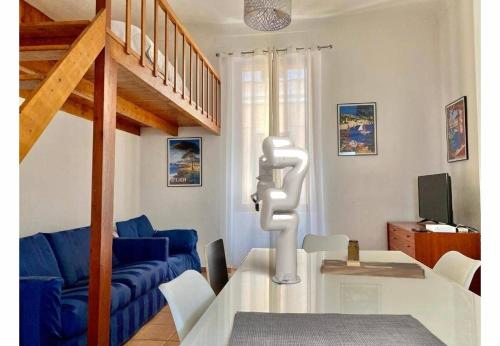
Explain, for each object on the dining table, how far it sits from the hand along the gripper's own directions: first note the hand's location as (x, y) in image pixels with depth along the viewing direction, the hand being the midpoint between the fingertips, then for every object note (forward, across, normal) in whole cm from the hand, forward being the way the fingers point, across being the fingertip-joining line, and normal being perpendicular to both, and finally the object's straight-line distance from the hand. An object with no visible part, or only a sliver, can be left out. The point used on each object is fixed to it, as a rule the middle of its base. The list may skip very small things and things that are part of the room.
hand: (266, 210), depth 200 cm
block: (+29, +35, -29) cm, 54 cm away
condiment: (+29, +47, -11) cm, 56 cm away
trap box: (+29, +42, -33) cm, 60 cm away
